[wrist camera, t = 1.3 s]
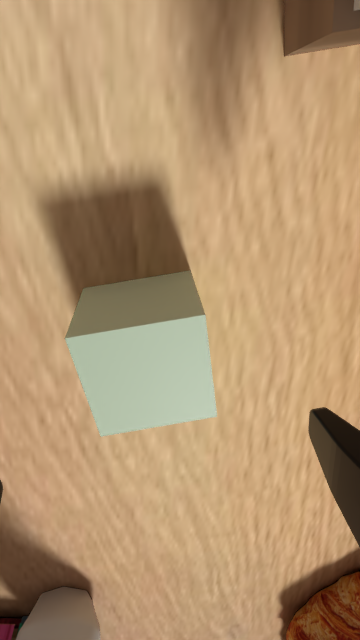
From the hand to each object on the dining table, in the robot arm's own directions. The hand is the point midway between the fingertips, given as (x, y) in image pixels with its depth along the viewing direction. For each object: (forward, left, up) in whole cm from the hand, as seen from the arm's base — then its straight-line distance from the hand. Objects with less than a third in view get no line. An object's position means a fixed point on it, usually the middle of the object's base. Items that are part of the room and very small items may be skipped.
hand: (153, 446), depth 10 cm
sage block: (0, 0, -7) cm, 7 cm away
